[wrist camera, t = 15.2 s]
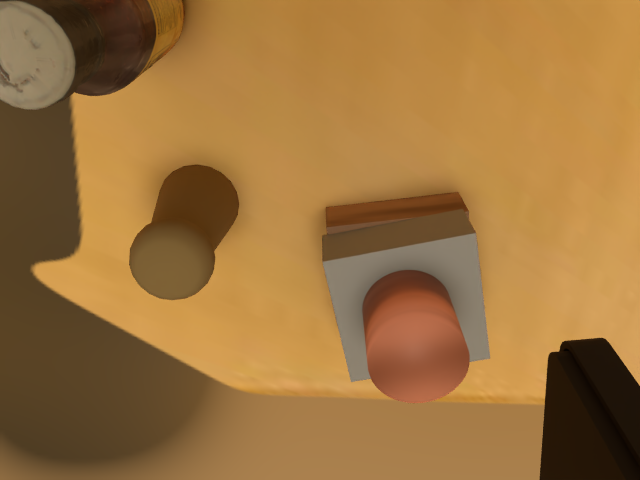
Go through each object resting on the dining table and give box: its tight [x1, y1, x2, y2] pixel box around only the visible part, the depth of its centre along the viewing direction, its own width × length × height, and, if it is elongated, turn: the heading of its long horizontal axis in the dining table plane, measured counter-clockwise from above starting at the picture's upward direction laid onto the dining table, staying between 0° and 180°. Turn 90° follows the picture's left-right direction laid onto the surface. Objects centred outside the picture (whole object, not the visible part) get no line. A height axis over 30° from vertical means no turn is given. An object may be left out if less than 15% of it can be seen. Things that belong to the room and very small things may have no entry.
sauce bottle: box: [0, 0, 185, 110], centre depth 32 cm, size 6×6×20 cm
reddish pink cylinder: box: [362, 270, 470, 403], centre depth 39 cm, size 6×6×6 cm
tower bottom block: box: [326, 192, 469, 235], centre depth 47 cm, size 10×10×4 cm
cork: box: [129, 165, 239, 300], centre depth 42 cm, size 6×6×11 cm
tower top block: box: [322, 209, 490, 382], centre depth 44 cm, size 10×10×4 cm
